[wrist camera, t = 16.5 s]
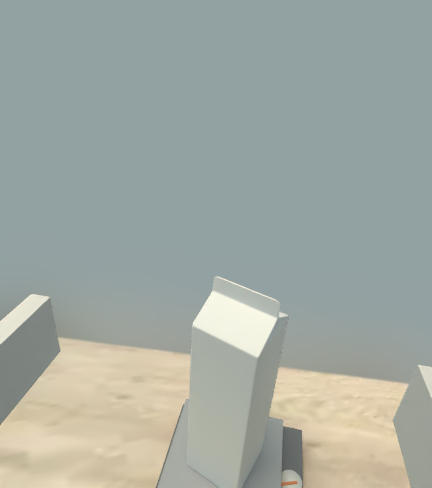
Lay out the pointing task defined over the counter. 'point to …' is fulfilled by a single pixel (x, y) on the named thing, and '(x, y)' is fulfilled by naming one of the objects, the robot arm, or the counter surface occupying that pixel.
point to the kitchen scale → (263, 472)
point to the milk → (232, 381)
